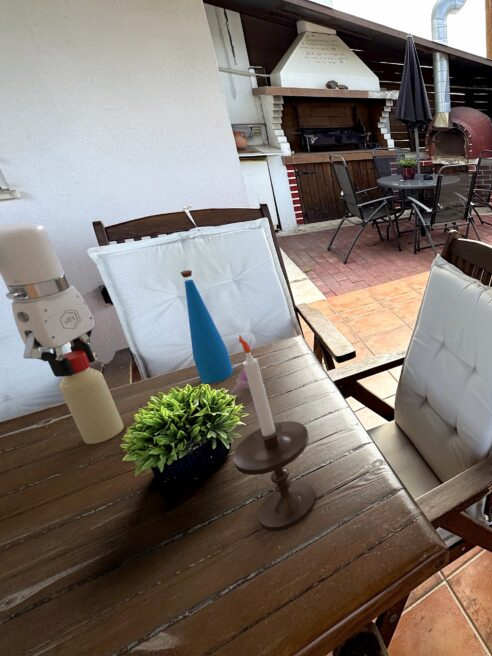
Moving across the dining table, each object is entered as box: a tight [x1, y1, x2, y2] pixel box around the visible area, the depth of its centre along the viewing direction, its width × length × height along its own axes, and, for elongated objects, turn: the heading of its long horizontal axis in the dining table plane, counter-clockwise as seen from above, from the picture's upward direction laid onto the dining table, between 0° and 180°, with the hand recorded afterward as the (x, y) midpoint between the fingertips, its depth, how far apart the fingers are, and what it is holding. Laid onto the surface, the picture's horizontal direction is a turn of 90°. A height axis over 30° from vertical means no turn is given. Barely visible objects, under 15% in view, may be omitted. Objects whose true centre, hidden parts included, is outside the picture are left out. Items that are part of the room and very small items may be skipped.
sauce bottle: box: [58, 366, 125, 445], centre depth 85 cm, size 6×6×20 cm
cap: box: [63, 350, 91, 374], centre depth 82 cm, size 4×4×3 cm
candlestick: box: [232, 334, 317, 532], centre depth 66 cm, size 11×11×35 cm
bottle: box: [180, 269, 234, 384], centre depth 104 cm, size 7×7×30 cm
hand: (75, 367), depth 83 cm, fingers closed on cap, 4 cm apart
